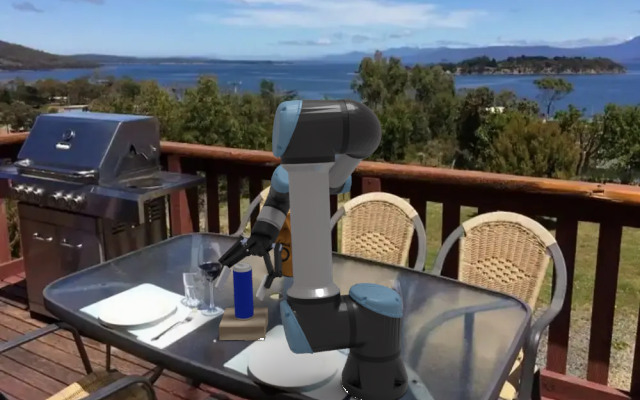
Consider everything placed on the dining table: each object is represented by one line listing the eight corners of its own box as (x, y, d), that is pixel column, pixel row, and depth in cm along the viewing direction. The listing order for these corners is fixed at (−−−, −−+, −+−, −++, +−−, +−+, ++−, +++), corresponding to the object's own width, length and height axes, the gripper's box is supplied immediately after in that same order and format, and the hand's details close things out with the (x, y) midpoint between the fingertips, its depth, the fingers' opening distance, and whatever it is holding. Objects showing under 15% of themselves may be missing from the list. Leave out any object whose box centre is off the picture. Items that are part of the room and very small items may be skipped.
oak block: (264, 340, 152) (264, 326, 151) (219, 340, 152) (218, 327, 151) (268, 320, 163) (267, 307, 163) (226, 320, 163) (225, 308, 162)
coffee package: (269, 274, 199) (267, 213, 194) (288, 263, 210) (286, 205, 205) (294, 278, 195) (293, 216, 190) (311, 267, 205) (311, 208, 200)
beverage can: (257, 316, 157) (255, 265, 153) (242, 322, 153) (240, 270, 150) (246, 311, 160) (244, 260, 157) (231, 316, 157) (228, 265, 153)
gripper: (310, 238, 159) (282, 308, 150) (239, 227, 171) (208, 290, 162) (300, 225, 153) (270, 296, 144) (227, 213, 165) (195, 279, 156)
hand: (237, 293), depth 153 cm, fingers open, 13 cm apart
